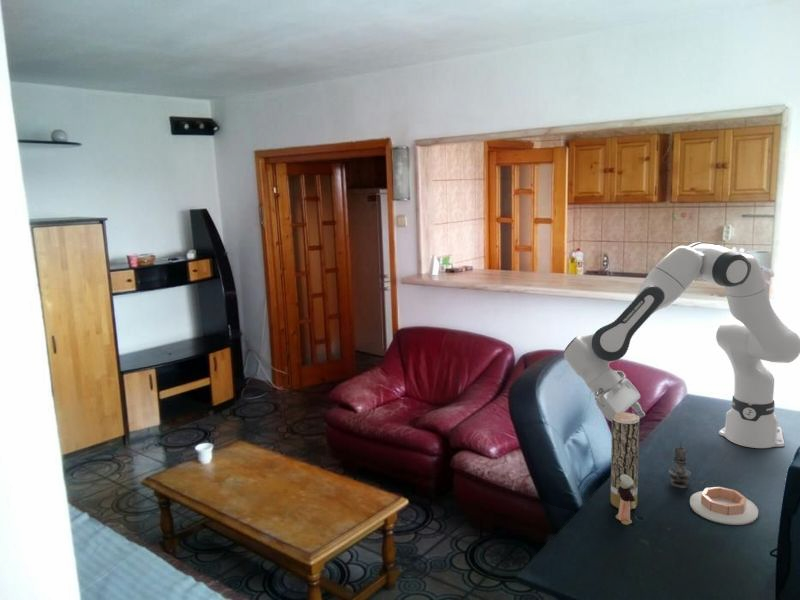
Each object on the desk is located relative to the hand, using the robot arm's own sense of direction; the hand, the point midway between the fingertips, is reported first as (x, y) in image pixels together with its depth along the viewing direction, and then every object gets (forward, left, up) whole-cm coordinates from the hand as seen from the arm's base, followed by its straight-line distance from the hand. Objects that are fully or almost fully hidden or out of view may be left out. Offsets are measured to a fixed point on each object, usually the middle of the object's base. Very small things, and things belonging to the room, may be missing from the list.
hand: (637, 421), depth 184 cm
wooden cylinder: (+20, +3, -16) cm, 26 cm away
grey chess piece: (0, +12, -16) cm, 20 cm away
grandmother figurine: (+28, +6, -16) cm, 33 cm away
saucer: (+8, +25, -16) cm, 31 cm away
